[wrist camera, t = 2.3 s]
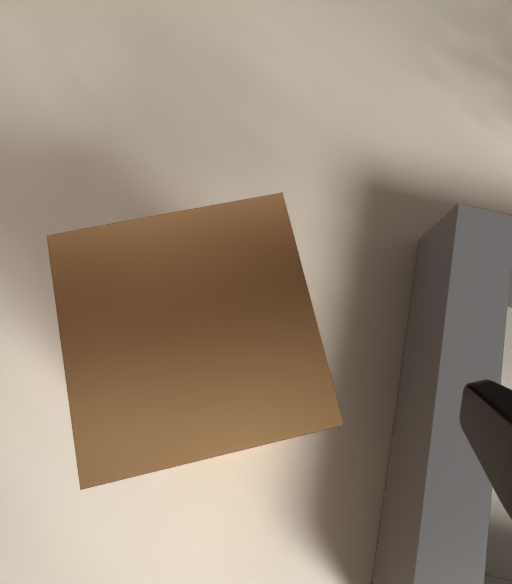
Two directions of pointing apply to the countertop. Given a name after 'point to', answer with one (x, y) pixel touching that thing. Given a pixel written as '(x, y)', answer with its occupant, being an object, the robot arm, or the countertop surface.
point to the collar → (445, 404)
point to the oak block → (187, 338)
